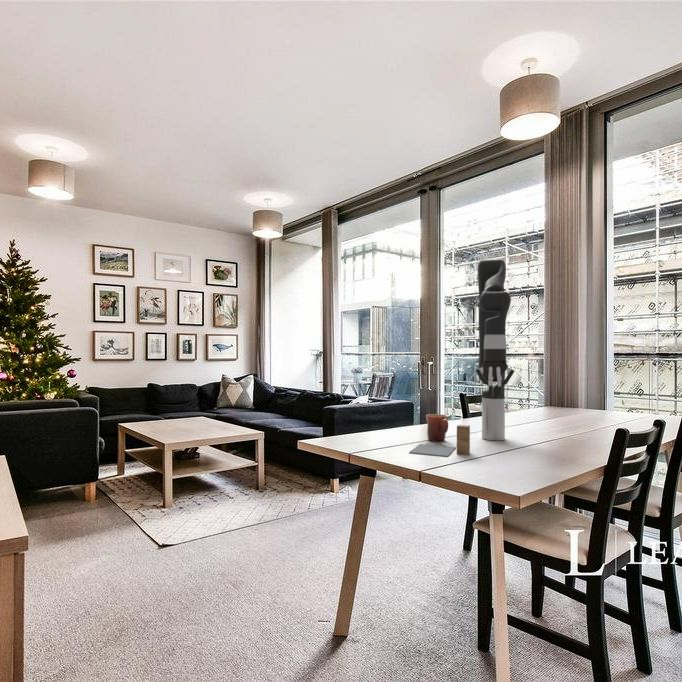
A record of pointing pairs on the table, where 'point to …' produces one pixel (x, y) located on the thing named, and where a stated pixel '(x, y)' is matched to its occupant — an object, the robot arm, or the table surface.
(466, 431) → the walnut block
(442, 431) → the mug
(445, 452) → the mat
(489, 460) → the table surface
